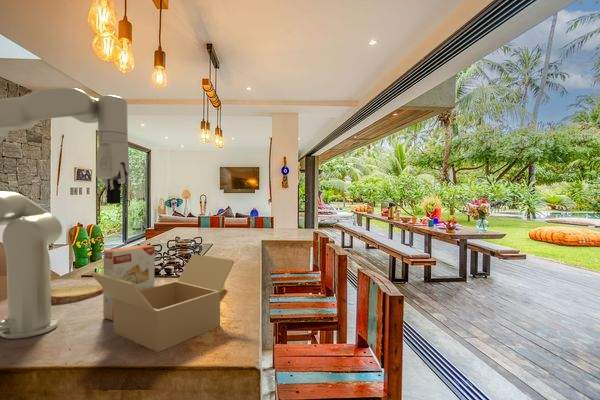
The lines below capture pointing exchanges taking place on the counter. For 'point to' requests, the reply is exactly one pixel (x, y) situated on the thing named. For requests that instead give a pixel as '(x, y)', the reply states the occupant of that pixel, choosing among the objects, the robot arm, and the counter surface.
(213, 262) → the flap far
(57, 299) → the slice of bread
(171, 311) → the carton
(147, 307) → the flap arm side
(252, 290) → the counter surface
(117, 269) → the cracker box
